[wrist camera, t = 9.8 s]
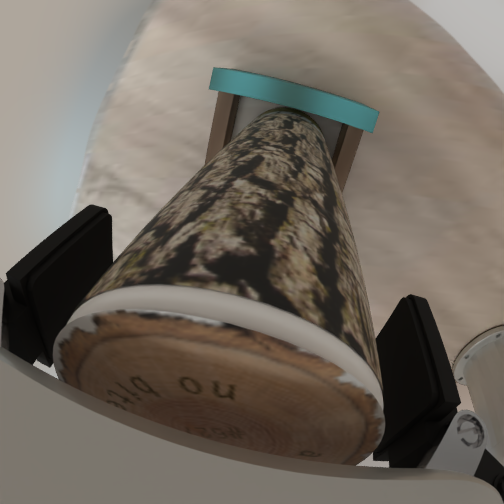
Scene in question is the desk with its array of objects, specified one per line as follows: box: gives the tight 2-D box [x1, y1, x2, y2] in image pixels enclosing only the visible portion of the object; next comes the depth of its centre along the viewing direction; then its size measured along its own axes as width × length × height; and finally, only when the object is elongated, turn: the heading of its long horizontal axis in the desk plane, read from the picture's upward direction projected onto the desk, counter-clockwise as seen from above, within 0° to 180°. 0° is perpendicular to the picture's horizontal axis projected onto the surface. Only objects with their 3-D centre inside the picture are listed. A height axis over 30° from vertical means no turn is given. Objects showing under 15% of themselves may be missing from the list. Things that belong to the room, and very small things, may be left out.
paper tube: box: [53, 107, 385, 466], centre depth 16 cm, size 7×7×25 cm
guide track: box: [205, 67, 379, 193], centre depth 27 cm, size 11×22×6 cm, turn 167°
